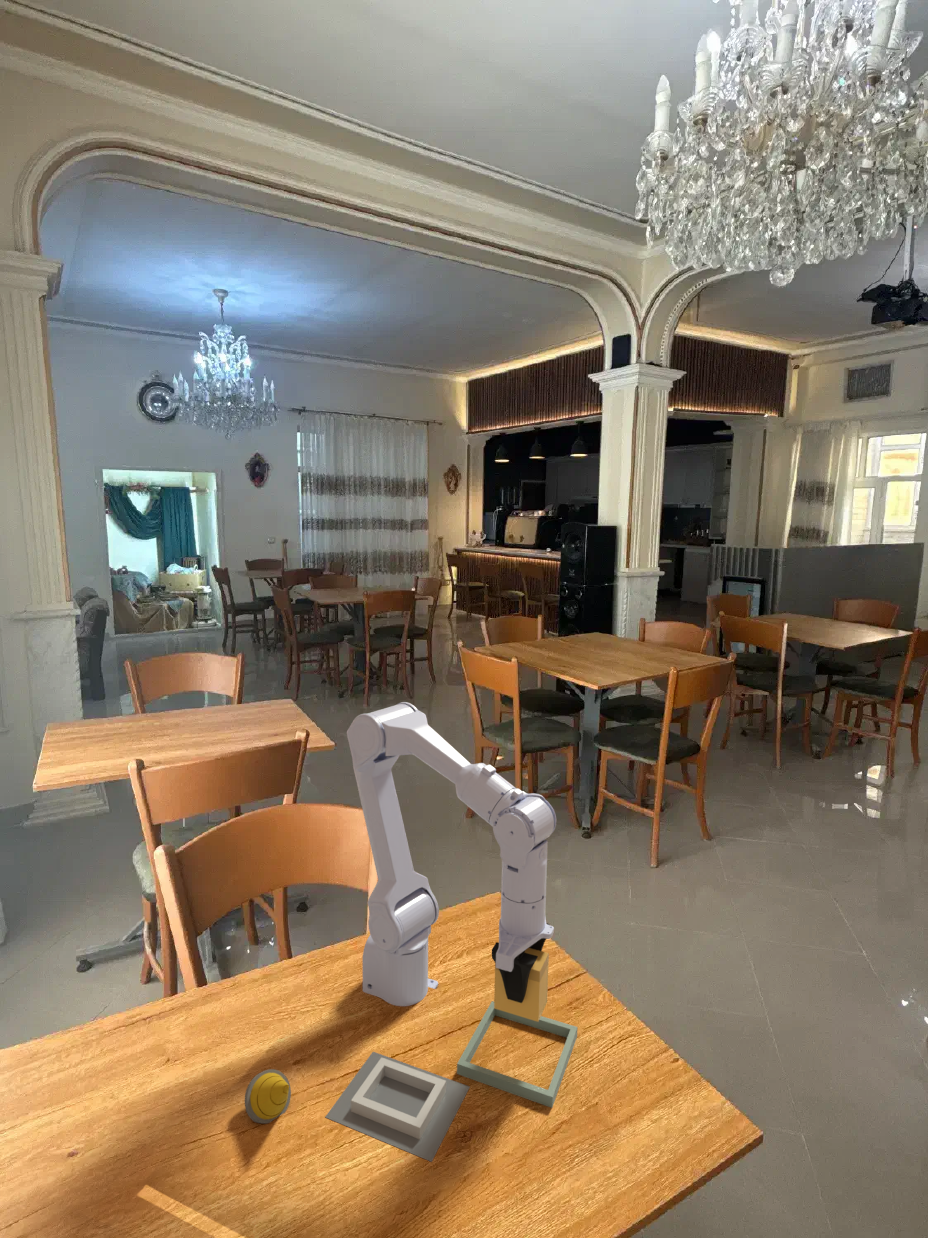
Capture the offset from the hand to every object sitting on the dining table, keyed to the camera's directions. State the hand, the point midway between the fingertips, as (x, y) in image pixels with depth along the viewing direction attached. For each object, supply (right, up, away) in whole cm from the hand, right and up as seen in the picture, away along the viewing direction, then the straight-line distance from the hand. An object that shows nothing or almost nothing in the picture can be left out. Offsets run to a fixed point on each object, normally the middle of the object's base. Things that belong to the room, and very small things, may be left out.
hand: (520, 988), depth 88 cm
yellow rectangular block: (0, -2, 0) cm, 2 cm away
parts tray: (0, -10, +1) cm, 10 cm away
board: (-15, -11, -6) cm, 20 cm away
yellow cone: (-30, -11, -8) cm, 33 cm away
